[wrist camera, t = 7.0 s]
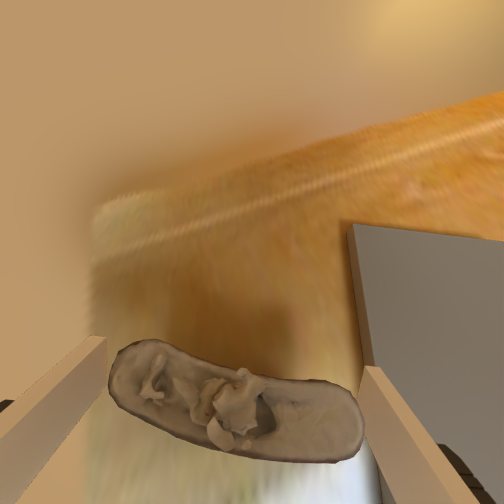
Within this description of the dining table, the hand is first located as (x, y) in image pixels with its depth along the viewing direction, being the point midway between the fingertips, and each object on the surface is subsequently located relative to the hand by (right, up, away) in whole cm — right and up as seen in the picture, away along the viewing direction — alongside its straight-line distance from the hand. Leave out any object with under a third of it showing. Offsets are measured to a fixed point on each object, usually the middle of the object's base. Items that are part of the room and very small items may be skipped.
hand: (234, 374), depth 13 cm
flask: (-1, -4, +3) cm, 5 cm away
